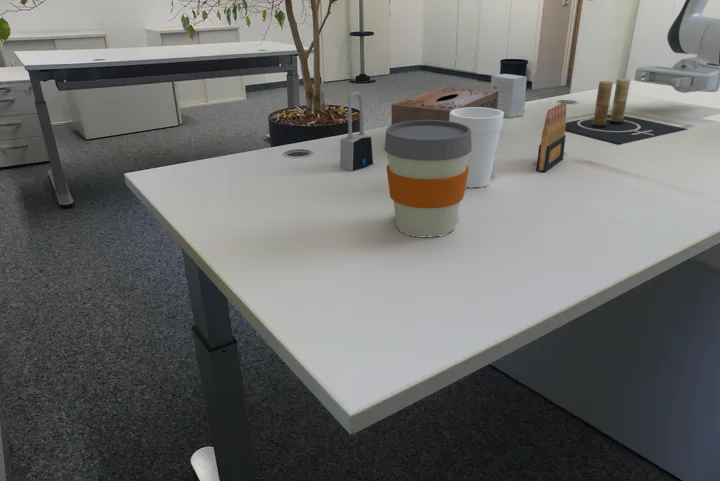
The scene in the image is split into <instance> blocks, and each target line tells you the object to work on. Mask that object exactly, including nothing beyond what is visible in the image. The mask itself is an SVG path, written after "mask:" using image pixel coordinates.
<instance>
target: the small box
mask: <svg viewBox="0 0 720 481" xmlns="http://www.w3.org/2000/svg"><path fill="white" fill-rule="evenodd" d="M490 78H491V79H490V90H492V91H499V93H498V105H497V110H500V111H502V112H504V118H509V119H511V118H516V116H517V117H520V116H524V114H525V104H526V90H527V79H528V77H527V76H525V75H517V74H511V73H500V74H494V75H491V77H490Z"/></svg>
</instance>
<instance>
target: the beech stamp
mask: <svg viewBox="0 0 720 481" xmlns="http://www.w3.org/2000/svg"><path fill="white" fill-rule="evenodd" d="M613 84H614V83H613V81H608V80H607V81H606V80H604V81H603V80H602V81H599V82H598V88H597V95H596V101H595V108H594V112H593V113H594V114H593V117H594V120H593V123H592V127H594V128H606V126H607V124H606V120H607V115H609V108H610V101H611V96H612V90H613Z"/></svg>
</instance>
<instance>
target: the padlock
mask: <svg viewBox="0 0 720 481" xmlns="http://www.w3.org/2000/svg"><path fill="white" fill-rule="evenodd" d="M354 97H358V104H359V105H358V107H359V131H358V132H359V133H353V126H352V125H353V122H352V120H353V118H352V117H353V116H352V102H353V99H354ZM363 102H364V101H363V96H362V94H361V93H360V92H359V91H354V92H352V93H350V95H349V96H348V98H347V125H348V126H347V127H348V128H347V130H348V132H347V133H348V134H347V135H346V136H344V137H342V138H340V142H339V143H340V145H339V146H340V147H339V148H340V149H339V168H340V169H341V170H345V171H349V172H355V171H358V170H361V169H366V168H367V167H369V166H372V165H373V164H374V151H373V150H374V149H373V148H374V147H373V136H372V135H368V134H365V130H364V103H363Z"/></svg>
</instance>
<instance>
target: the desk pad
mask: <svg viewBox="0 0 720 481" xmlns="http://www.w3.org/2000/svg"><path fill="white" fill-rule="evenodd" d="M610 118H611V113H610V114H609V113H608V114H607V120H606V124H607V126H606V128H594V127H592V123H593V120H594V116H592V117H588V118H582V119H576V120H571V121H566V127H565V132H568V133H571V134H575V135H579V136H583V137H588V138H591V139H595V140H599V141H603V142H608V143H611V144H615V145H619V146H620V145H625V144H629V143H634V142H638V141H642V140H647V139H652V138H656V137H661V136H665V135H670V134H674V133H678V132H683V131H688V130H689V128H685V127H682V126H681V127H680V126H676V125H671V124H667V123H660V122H657V121H651V120H646V119H641V118H637V117H632V116H626V115H624V119H623V120H624V123H623V124H622V125H614V124H610V123H609V120H610Z"/></svg>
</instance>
